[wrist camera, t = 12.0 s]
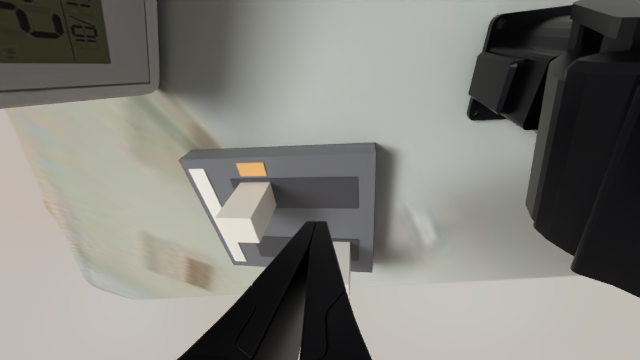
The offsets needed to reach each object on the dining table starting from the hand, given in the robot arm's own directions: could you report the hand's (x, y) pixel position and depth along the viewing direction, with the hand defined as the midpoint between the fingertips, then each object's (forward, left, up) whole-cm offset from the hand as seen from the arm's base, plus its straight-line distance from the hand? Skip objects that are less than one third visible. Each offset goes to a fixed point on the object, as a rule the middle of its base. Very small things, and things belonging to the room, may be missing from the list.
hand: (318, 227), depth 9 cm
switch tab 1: (+8, +6, -10) cm, 14 cm away
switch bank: (+6, +10, -12) cm, 17 cm away
